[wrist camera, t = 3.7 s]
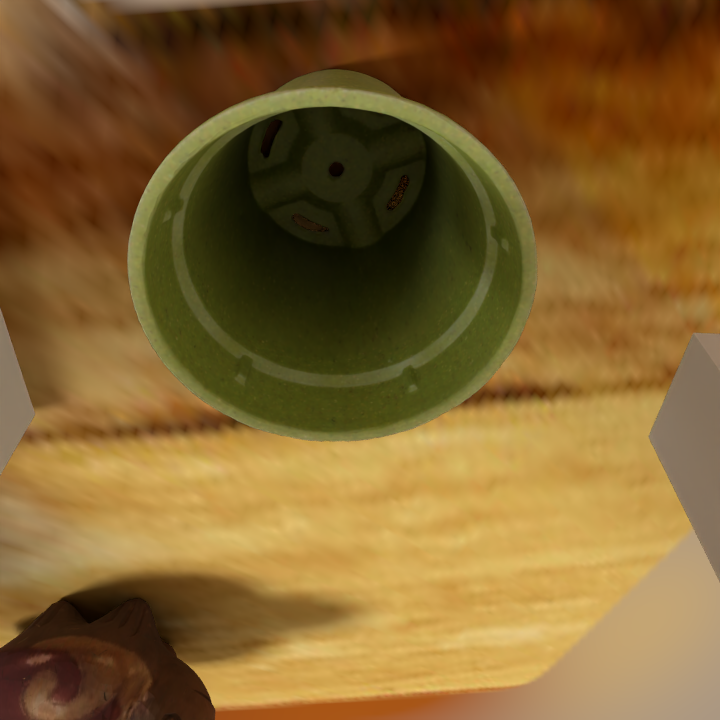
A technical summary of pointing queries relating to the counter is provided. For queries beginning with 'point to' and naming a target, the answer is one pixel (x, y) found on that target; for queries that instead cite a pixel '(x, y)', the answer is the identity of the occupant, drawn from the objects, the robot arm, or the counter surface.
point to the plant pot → (332, 262)
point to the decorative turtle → (98, 670)
